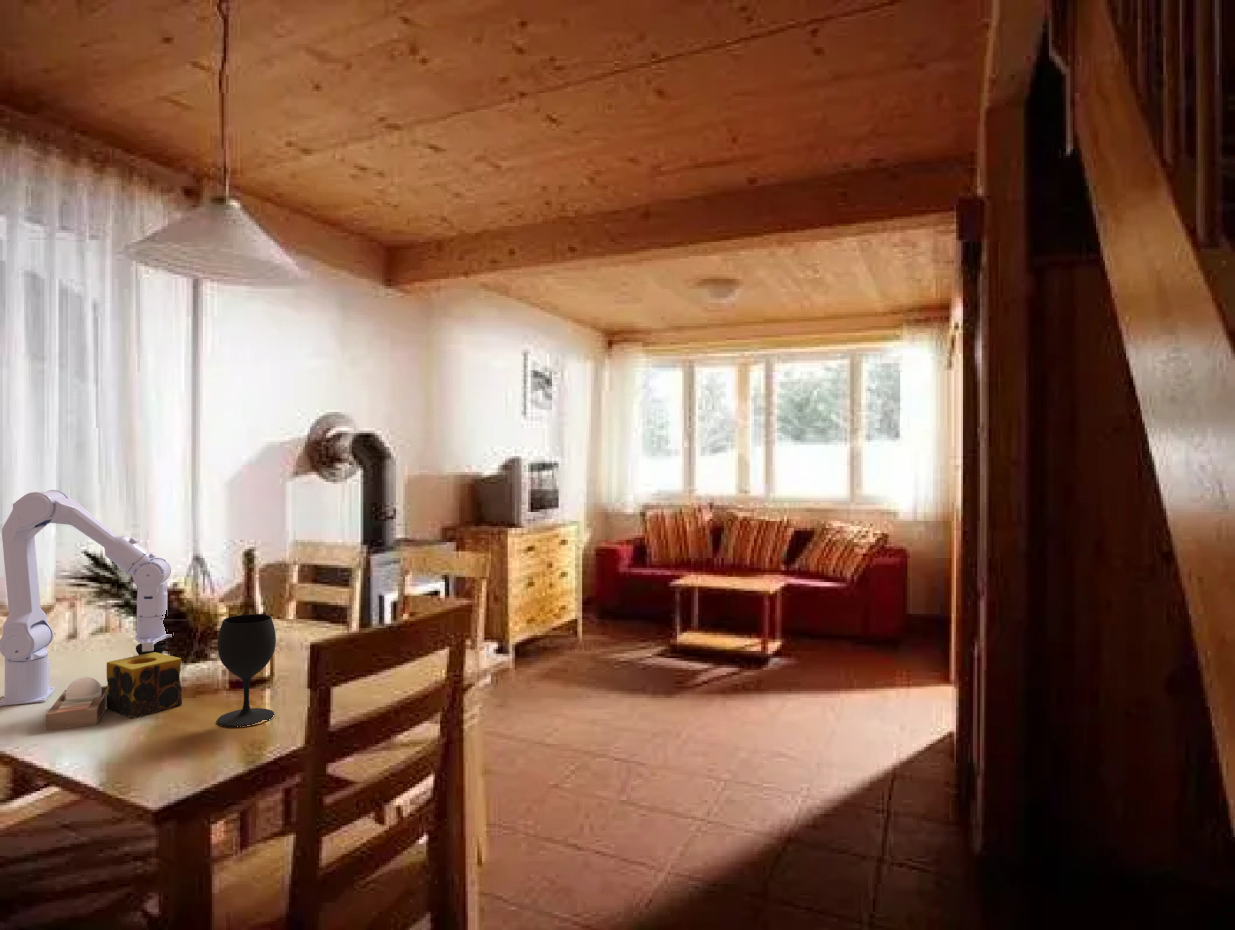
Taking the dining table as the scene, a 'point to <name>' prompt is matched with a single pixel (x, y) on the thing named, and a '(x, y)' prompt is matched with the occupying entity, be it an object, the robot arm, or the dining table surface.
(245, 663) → the wine glass
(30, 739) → the dining table surface
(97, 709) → the brown shallow box
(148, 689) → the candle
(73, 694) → the dome button
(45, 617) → the robot arm
